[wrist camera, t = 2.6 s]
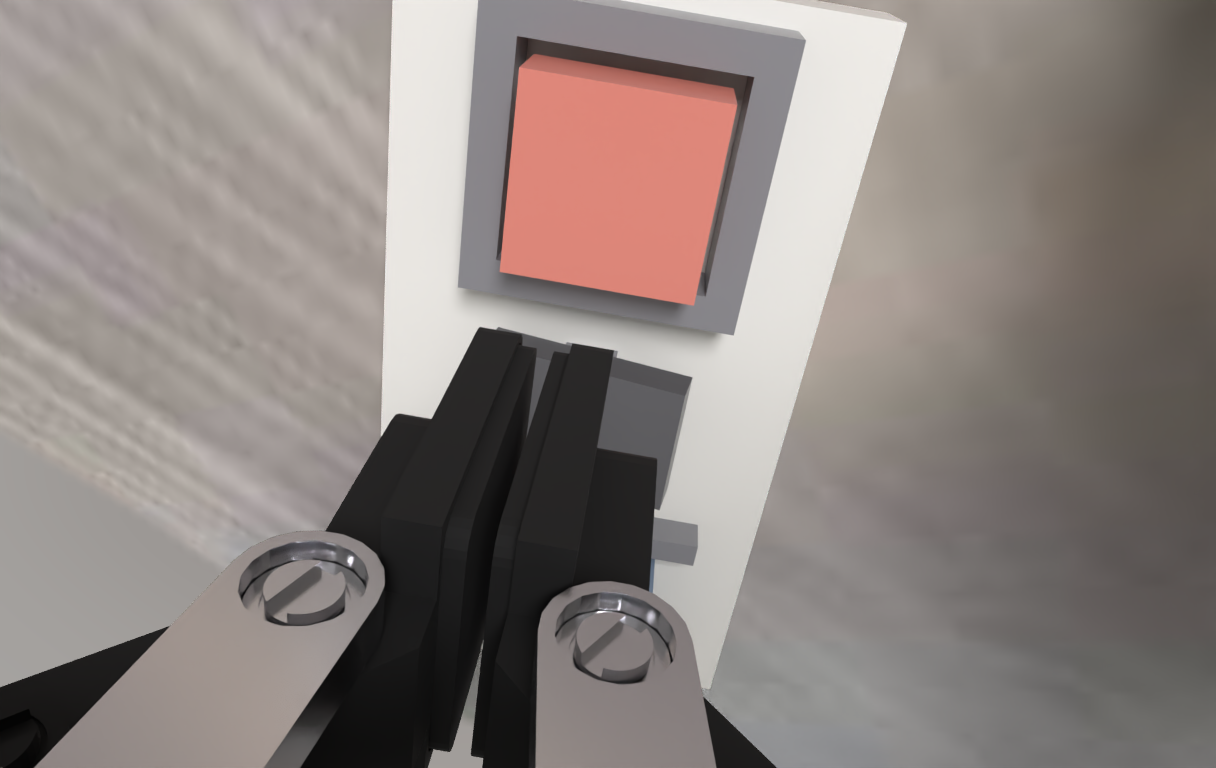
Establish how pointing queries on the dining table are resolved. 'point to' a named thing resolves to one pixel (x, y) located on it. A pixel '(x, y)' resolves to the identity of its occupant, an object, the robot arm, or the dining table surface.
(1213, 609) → the dining table surface
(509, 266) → the button
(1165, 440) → the dining table surface
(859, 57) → the panel
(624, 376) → the block
